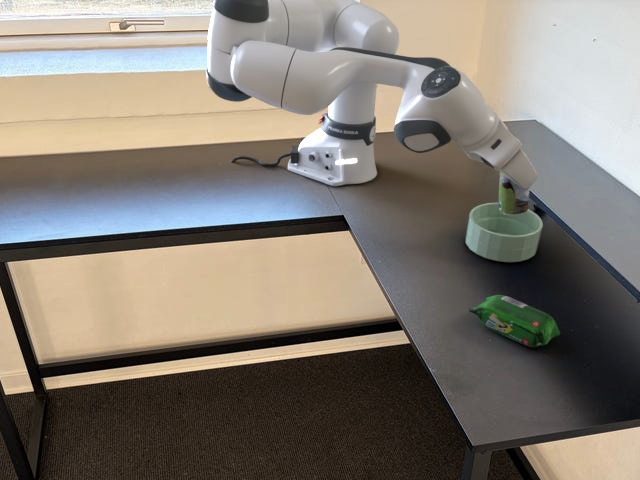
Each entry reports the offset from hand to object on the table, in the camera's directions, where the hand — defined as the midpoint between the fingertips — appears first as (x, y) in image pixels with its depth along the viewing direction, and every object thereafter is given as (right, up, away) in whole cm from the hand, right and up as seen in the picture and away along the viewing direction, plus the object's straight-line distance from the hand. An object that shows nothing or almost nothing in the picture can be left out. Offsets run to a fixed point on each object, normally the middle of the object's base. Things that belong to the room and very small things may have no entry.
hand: (516, 178), depth 147 cm
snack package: (-4, -32, -15) cm, 36 cm away
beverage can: (-1, -6, +3) cm, 7 cm away
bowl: (-1, -12, +9) cm, 15 cm away
